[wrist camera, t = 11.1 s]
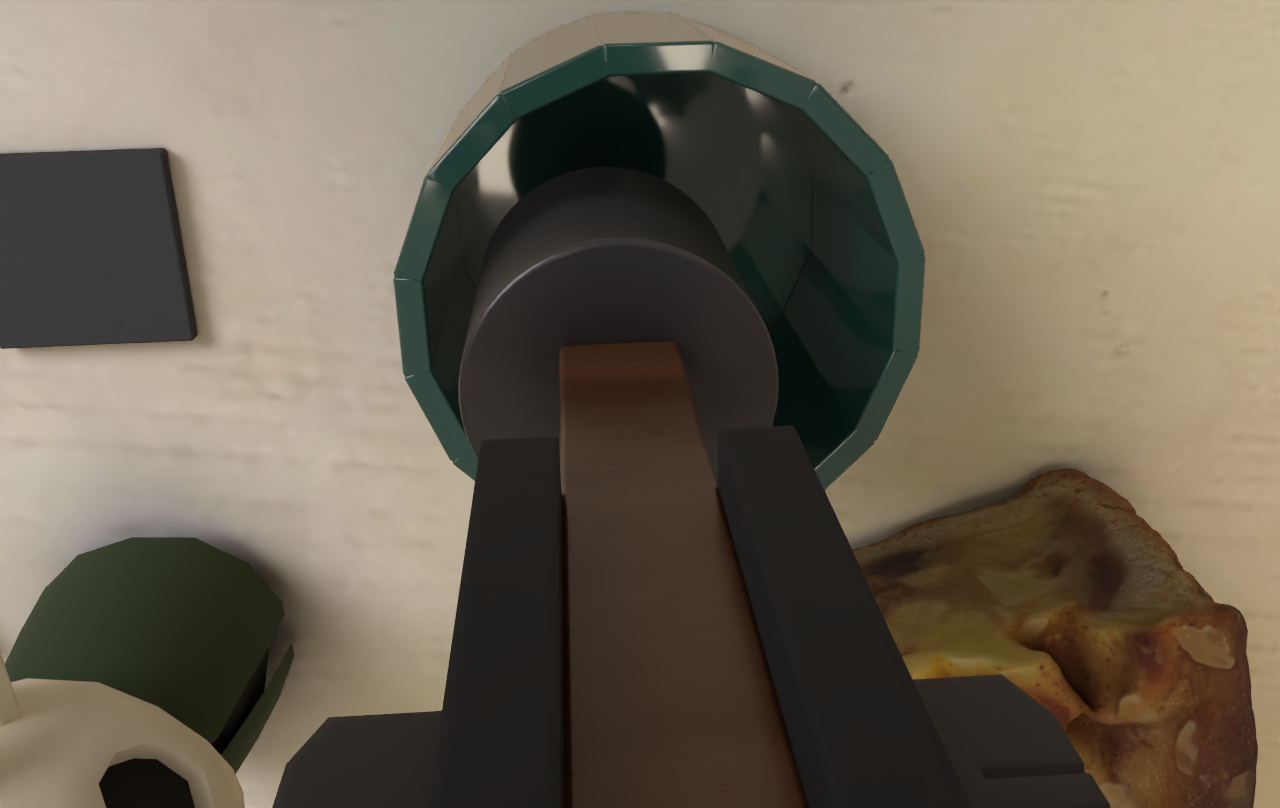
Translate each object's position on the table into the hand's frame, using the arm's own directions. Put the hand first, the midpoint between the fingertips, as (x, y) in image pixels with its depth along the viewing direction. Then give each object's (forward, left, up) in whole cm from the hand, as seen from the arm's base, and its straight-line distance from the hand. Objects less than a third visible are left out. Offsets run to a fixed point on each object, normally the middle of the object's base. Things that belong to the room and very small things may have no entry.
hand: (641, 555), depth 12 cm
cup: (0, +1, -17) cm, 17 cm away
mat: (+1, -12, -17) cm, 20 cm away
